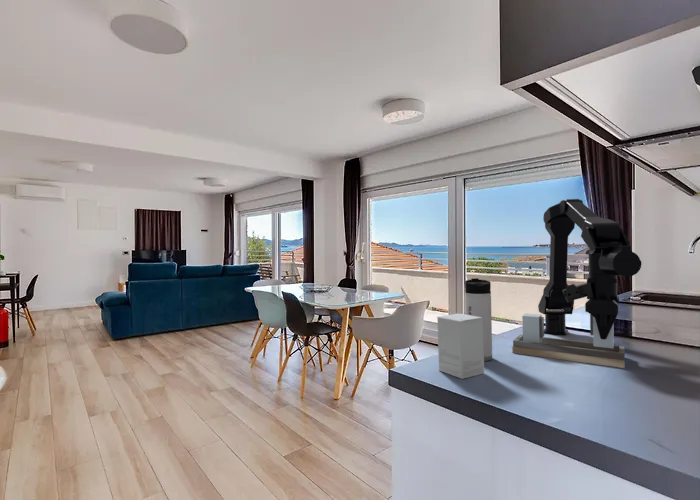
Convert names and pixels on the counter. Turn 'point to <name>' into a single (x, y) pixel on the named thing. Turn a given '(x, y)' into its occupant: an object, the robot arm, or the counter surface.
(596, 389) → the counter surface
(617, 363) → the rail
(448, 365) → the supplement box
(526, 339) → the block
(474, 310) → the travel mug
